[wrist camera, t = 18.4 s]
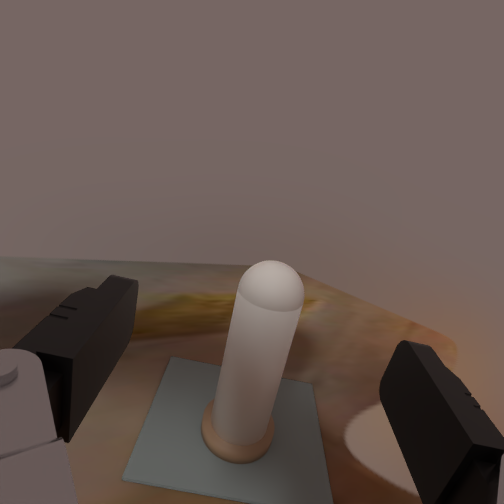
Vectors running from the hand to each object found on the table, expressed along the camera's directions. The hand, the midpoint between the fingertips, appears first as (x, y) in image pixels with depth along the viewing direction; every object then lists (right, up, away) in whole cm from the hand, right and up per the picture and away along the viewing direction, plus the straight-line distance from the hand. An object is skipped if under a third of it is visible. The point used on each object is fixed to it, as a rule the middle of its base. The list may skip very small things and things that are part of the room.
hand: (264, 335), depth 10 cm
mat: (-2, -13, +22) cm, 26 cm away
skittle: (-2, -13, +21) cm, 25 cm away
